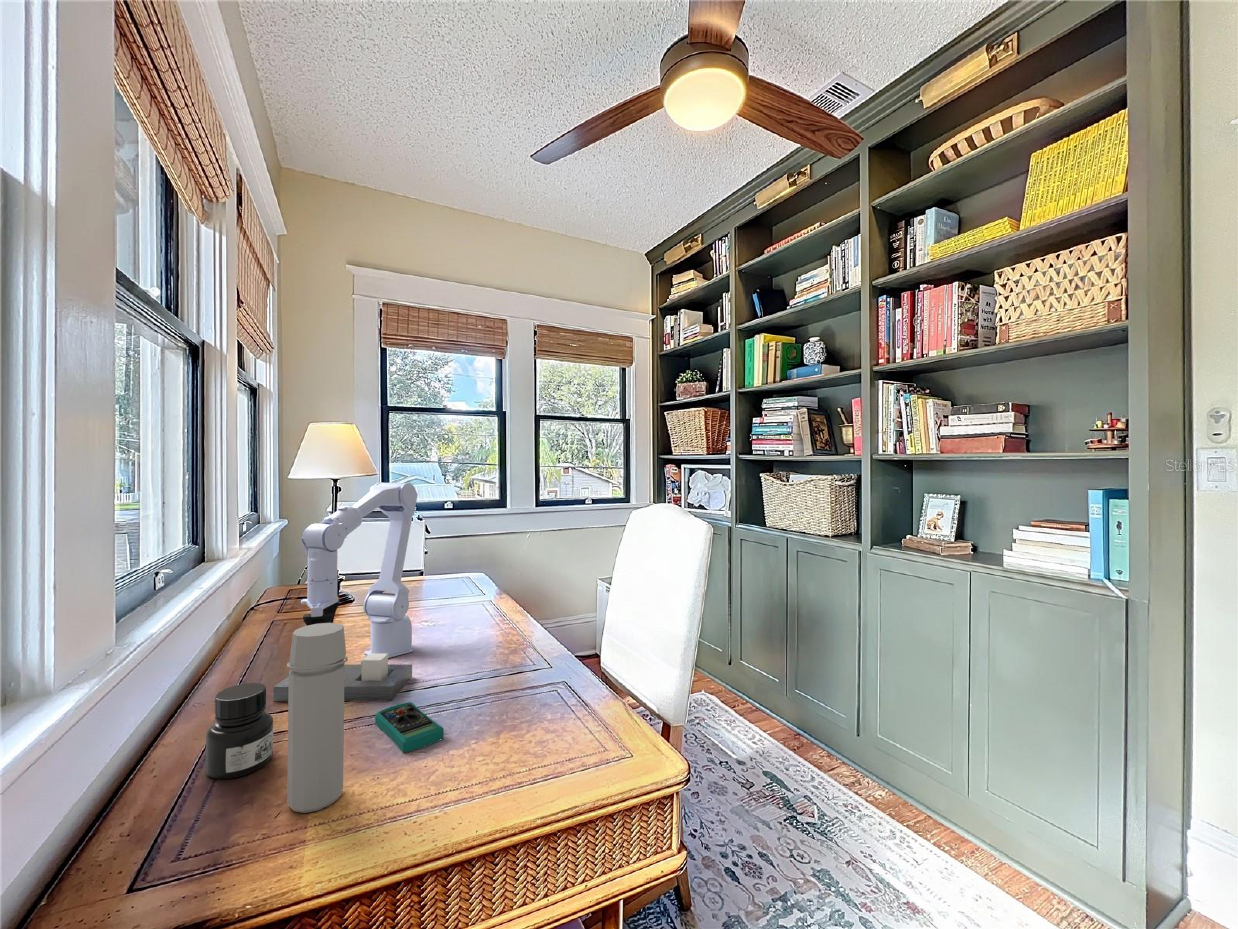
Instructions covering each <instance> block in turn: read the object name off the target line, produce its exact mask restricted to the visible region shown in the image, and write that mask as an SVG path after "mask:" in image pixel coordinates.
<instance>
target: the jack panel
mask: <svg viewBox="0 0 1238 929" xmlns="http://www.w3.org/2000/svg"><path fill="white" fill-rule="evenodd" d="M361 675H362V671H361V663H359V664H345V667H344V702H381V701H382V702H392V701H393V700H394V699H395V698H396V697H397V696H398V694H400V692H402V690H403V689H404V688H405V687H406V685H407V684H408V683H409V682H410V681H411V679H412V678H413V664H411V663H410V664H409V663H408V664H395V663H394V664H392V663H391V664H389V663H388V677H387V678H386V679H385V680H384V681H361ZM288 689H289V676H287V677H285V678H284V679H282V680H281V681H280V682H278V683H277V684H275V685H274V686H273V702H288Z"/></svg>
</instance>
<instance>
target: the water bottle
mask: <svg viewBox="0 0 1238 929" xmlns="http://www.w3.org/2000/svg"><path fill="white" fill-rule="evenodd" d="M291 637H292V638H291V645H290V654H289V662H287V664H286V667H287V668H288V669H289V672H288V677H289V689H288V701H287V703H288V704H287V707H288V708H287V709H288V711H287V786H286V787H287V794H286V795H287V796H286V797H287V798H286V799H287V803H286V804H287V805H288V806H289V807H290V809H291V810H292V811H293V812H296V813H303V814H305V813H312V812H317V811H318V812H319V811H320V810H322V809H324V807H325V808H327V807H329V806H331V805H332V804H333V803H335V801H337V800H338V799H339V798H340V797H341V795H342V793H343V789H344V756H345V755H344V752H345V751H344V750H345V749H344V746H345V744H344V741H345V740H344V739H345V737H344V736H345V734H344V733H345V732H344V731H345V729H344V728H345V723H344V722H345V701H344V667H345V665H346V664H345V663H347V662H348V661H349V657H347V656H346V655H347V647H346V636H345V627H344V625H342V624H341V623H338V622H337V623H336V622H333V623H320V624H313V625H308V626H307V625H304V626H302V627H299V628H297V629H295V630H294V631H293V632H292V636H291Z"/></svg>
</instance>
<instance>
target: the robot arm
mask: <svg viewBox="0 0 1238 929" xmlns="http://www.w3.org/2000/svg"><path fill="white" fill-rule="evenodd" d="M418 495H419V494H418V492H417V490H416V488H415V486H414V485H413V483H411V482H404V483H403V482H402V483H401V482H382V481H379V482H376V483H375V484H374V485H372V486H370V487H369V491H368V492H367V493H366V494H365V495H364V496H362V497H361V498H360V499H359V500H358V501H357V502H355V504H353V505H352V506H351V505H339V507H338V508H337V510H336V511H335V512H333V513H332V514H331V515H329V516H326V517H324V518H323V519H322V521H320V522H319V523H313V524H310V525H309V526H308V527H306V528H305V530H304V531H303V532H302V537H300V544H301V546H302V547H303V549H304V551H305V552H304V554H305V555H304V556H306V558H307V591H306V592H307V593H306V594H307V595H306V596H307V598H302V599H301V601H300V605H306V606H308V607H309V608H310V613H304V614H303V615H302V620H303V622H304V624H305V626H308V625H313V624H320V623H334V620H335V616H336V612H337V610H338V607H339V606H340V604H341V601H340V600H339V596H338V559H339V558H338V557H339V556H338V551H339V550H338V549H341V547H342V546H343V544H344V542H345V539H346V538H347V536H348V535H349V534H351V533H352V532H353V531H355V530H356V529H357V528H359V527H360V526H361V525H362V523H363V518H364V517H366V516H368V514H370V513H372V512H374V511H375V510H377V509H378V510H380V512H382V513H383V514H384V515H386V516H387V517H388V519H389V525H388V530H387V536H386V541H385V544H384V545H385V546H384V552H383V557H382V562H381V567H380V572H379V577H378V580H377V581H376V582H374V583H373V584H371V585H370V586H369V587H368V592H367V594H366V597H365V598H364V601H363V602H362V603H363V606H362V608H363V609H362V610H363V613H364V614H365V615H366V616H367V620H368V621H370V647H369V648H370V649H368V650H365V651H363V653H364V654H365V655H366V656H367V655H369V654H388V659H390V658H394V657H397V656H400V655H405V654H408V653H412V652H414V649H413V647H412V645H413V643H412V641H413V636H412V635H413V626H412V622H411V620H412V619H410V617H409V616H408V615H406V614H407V612H408V611H409V607H410V601H409V592H410V589H409V588H408V587H407V586H406V585H405V584H404V583H403V582H402V577H403V570H404V565H405V560H406V555H407V549H408V544H409V543H408V542H409V539H410V538H409V537H410V532H411V527H412V526H411V525H412V522H413V516H414V515H415V511H416V506H417V501H418ZM388 592H389V593H388ZM390 592H392V593H390Z"/></svg>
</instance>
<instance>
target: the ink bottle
mask: <svg viewBox="0 0 1238 929" xmlns="http://www.w3.org/2000/svg"><path fill="white" fill-rule="evenodd" d="M266 705H267V686H266V684H264V683H260V682H251V683H250V682H247V683H241V684H235V685H232V686H229V687H226V688H224V689H222V690H220V691H218V692H217V693H216V694H215V695H214V715H215V716H214V720H215V721H214V723H213V724H211V725H210V727H209V728H208V729H207V731H206V735H205V772H206V776H208V777H210V778H214V779H221V780H222V779H234V778H238V777H243V776H246V775H248V774H250V773H253V772H255V771H257V770H259V769H260V768H262V767H263V766H265V765H266V764H267V763H268V762H270V761H271V759H272V757H273V754H274V718H273V716H272V715H271V714H270V713H269V712H266V711H265V710H266V708H267V707H266Z"/></svg>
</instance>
